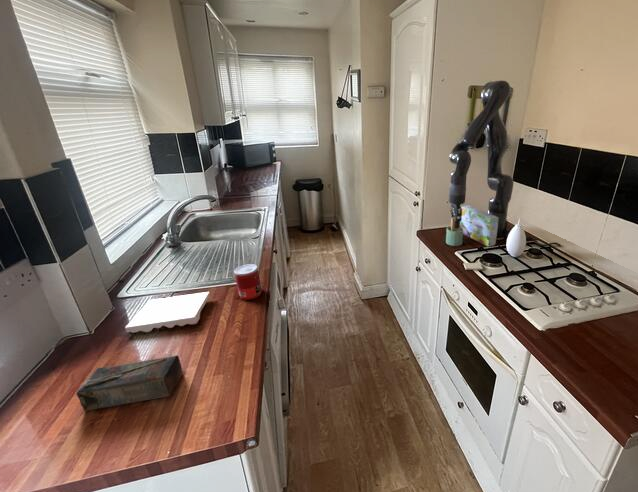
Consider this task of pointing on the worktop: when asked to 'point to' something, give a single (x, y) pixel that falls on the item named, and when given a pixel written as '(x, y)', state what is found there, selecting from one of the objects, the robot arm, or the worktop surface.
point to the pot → (454, 237)
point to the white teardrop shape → (516, 240)
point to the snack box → (479, 225)
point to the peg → (454, 224)
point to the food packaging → (169, 312)
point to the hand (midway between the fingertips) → (455, 224)
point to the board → (473, 266)
